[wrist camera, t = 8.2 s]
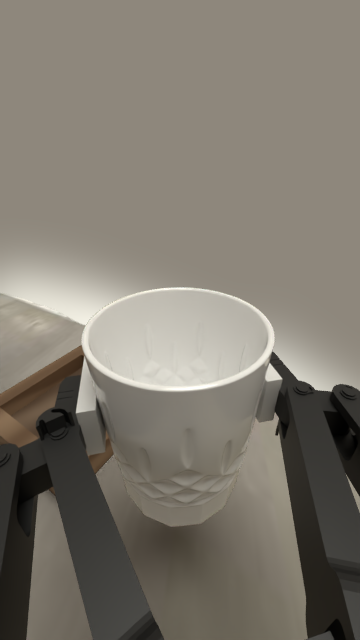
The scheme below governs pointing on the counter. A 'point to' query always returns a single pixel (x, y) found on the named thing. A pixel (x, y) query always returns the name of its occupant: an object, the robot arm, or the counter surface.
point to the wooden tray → (41, 404)
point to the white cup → (179, 394)
